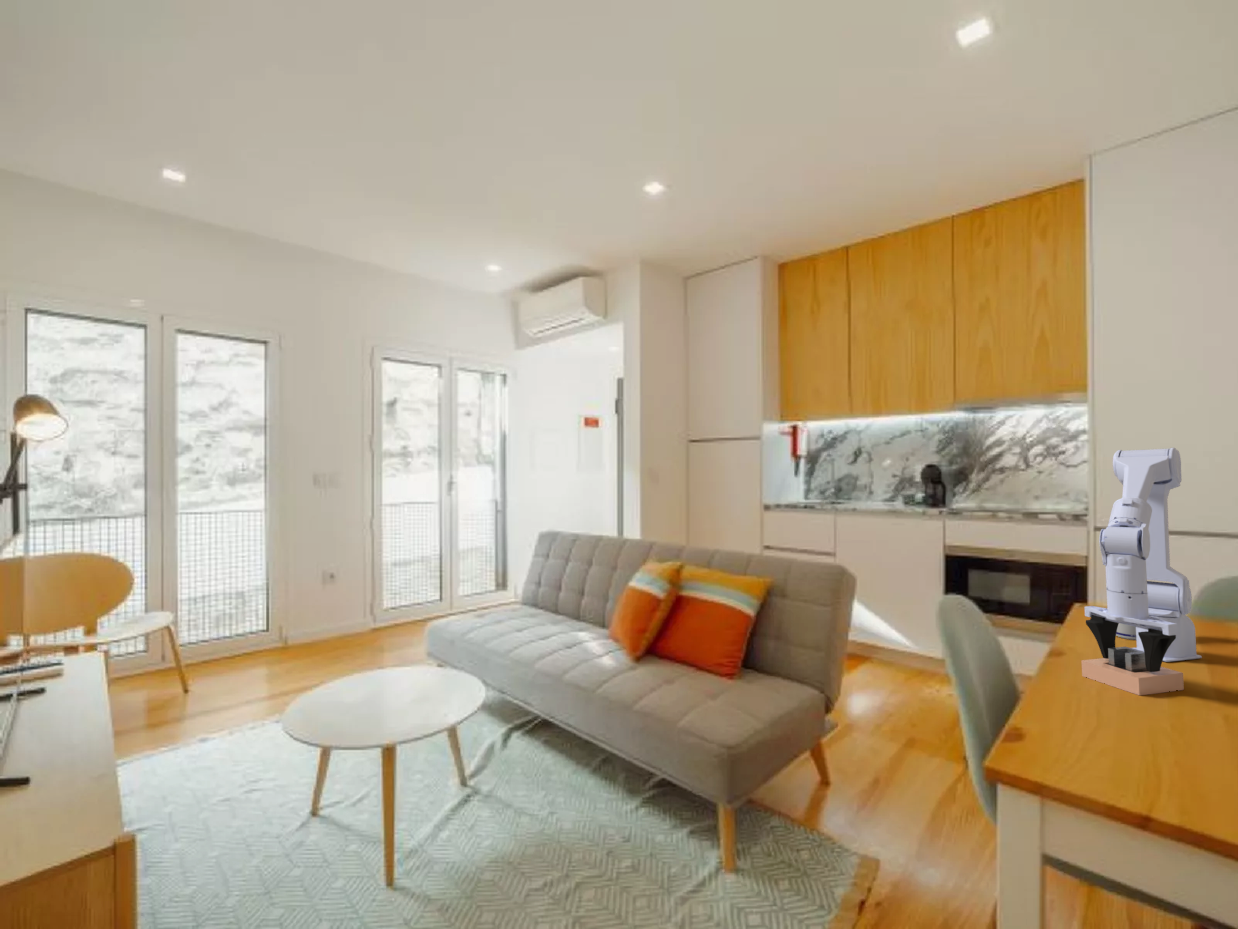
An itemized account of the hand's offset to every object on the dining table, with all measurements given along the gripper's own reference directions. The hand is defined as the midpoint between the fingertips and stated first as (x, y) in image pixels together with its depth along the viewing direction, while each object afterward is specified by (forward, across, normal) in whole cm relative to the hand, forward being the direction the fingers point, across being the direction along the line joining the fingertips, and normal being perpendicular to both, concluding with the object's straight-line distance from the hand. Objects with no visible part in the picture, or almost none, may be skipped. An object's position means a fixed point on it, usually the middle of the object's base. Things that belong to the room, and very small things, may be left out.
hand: (1130, 664), depth 105 cm
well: (+3, 0, 0) cm, 3 cm away
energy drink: (+4, -22, +30) cm, 38 cm away
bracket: (+3, 0, 0) cm, 3 cm away
